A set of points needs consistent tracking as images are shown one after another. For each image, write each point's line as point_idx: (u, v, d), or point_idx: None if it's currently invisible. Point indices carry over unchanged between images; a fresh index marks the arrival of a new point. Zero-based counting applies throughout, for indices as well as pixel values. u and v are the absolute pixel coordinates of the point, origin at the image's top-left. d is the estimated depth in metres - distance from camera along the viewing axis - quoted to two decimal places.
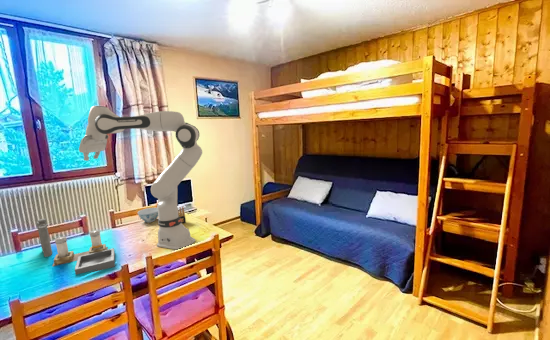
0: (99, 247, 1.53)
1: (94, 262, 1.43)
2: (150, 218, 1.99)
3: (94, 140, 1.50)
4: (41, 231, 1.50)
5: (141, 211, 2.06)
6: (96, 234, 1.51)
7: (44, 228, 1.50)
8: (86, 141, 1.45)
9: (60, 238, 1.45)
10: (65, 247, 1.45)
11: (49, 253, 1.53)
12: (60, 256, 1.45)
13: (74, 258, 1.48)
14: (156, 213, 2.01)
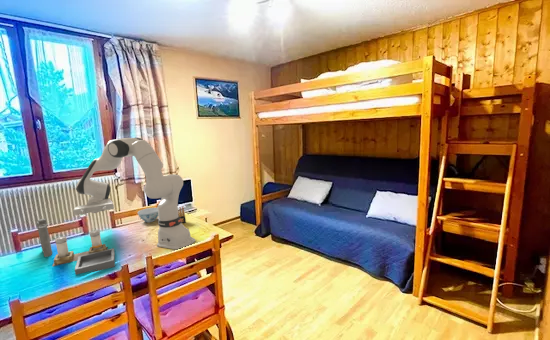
0: (99, 247, 1.53)
1: (94, 262, 1.43)
2: (150, 218, 1.99)
3: (87, 204, 1.69)
4: (41, 231, 1.50)
5: (141, 211, 2.06)
6: (96, 234, 1.51)
7: (44, 228, 1.50)
8: None
9: (60, 238, 1.45)
10: (65, 247, 1.45)
11: (49, 253, 1.53)
12: (60, 256, 1.44)
13: (74, 258, 1.48)
14: (156, 213, 2.01)
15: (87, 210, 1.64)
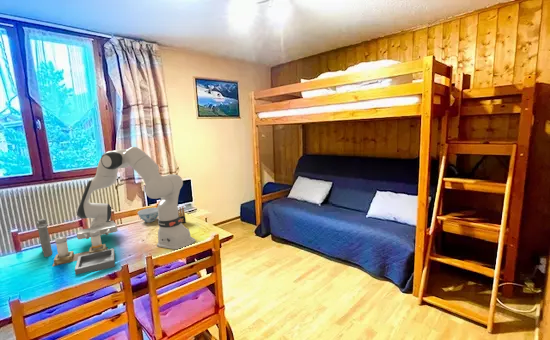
0: (99, 247, 1.53)
1: (94, 262, 1.43)
2: (150, 218, 1.99)
3: (91, 227, 1.68)
4: (41, 231, 1.50)
5: (141, 211, 2.06)
6: (96, 234, 1.51)
7: (44, 228, 1.50)
8: None
9: (60, 238, 1.45)
10: (65, 247, 1.45)
11: (49, 253, 1.53)
12: (60, 256, 1.45)
13: (74, 258, 1.48)
14: (156, 213, 2.01)
15: None
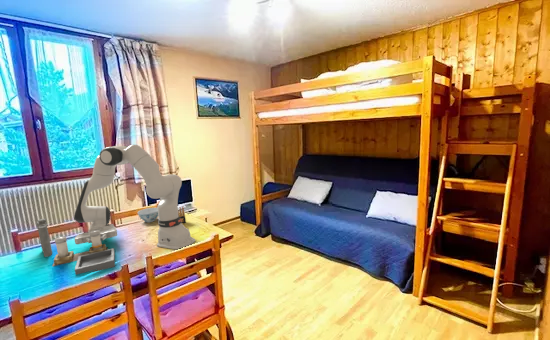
0: (99, 247, 1.53)
1: (94, 262, 1.43)
2: (150, 218, 1.99)
3: (89, 232, 1.60)
4: (41, 231, 1.50)
5: (141, 211, 2.06)
6: (96, 234, 1.51)
7: (44, 228, 1.50)
8: None
9: (60, 238, 1.45)
10: (65, 247, 1.45)
11: (49, 253, 1.53)
12: (60, 256, 1.45)
13: (74, 258, 1.48)
14: (156, 213, 2.01)
15: (89, 239, 1.55)
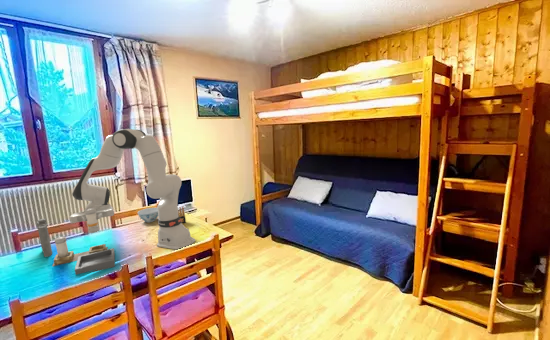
0: (95, 226, 1.47)
1: (94, 262, 1.43)
2: (150, 218, 1.99)
3: None
4: (41, 231, 1.50)
5: (141, 211, 2.06)
6: (92, 212, 1.45)
7: (44, 228, 1.50)
8: None
9: (59, 238, 1.45)
10: (65, 247, 1.45)
11: (49, 253, 1.53)
12: (60, 256, 1.44)
13: (74, 258, 1.48)
14: (156, 213, 2.01)
15: None
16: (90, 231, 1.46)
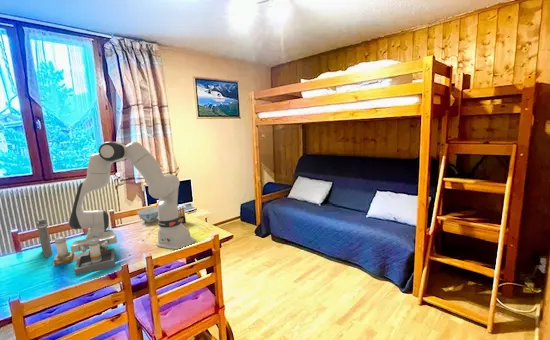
0: (98, 257, 1.41)
1: None
2: (150, 218, 1.99)
3: (87, 238, 1.48)
4: (41, 231, 1.50)
5: (141, 211, 2.06)
6: (95, 243, 1.39)
7: (44, 228, 1.50)
8: None
9: (59, 238, 1.45)
10: (64, 247, 1.45)
11: (49, 253, 1.53)
12: (60, 256, 1.45)
13: (74, 258, 1.48)
14: (156, 213, 2.01)
15: (86, 246, 1.43)
16: (93, 263, 1.40)
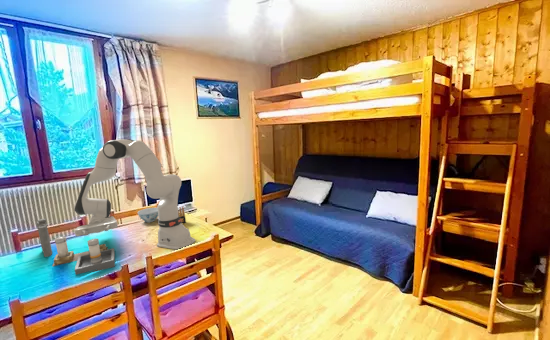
0: (98, 257, 1.41)
1: None
2: (150, 218, 1.99)
3: (89, 224, 1.59)
4: (41, 231, 1.50)
5: (141, 211, 2.06)
6: (94, 243, 1.39)
7: (44, 228, 1.50)
8: None
9: (60, 238, 1.45)
10: (64, 247, 1.45)
11: (49, 253, 1.53)
12: (60, 256, 1.45)
13: (74, 258, 1.48)
14: (156, 213, 2.01)
15: (89, 230, 1.54)
16: (93, 263, 1.40)
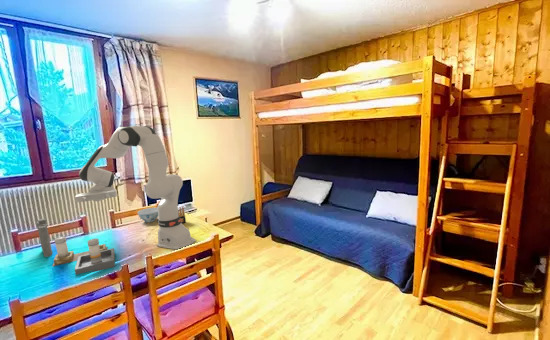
0: (98, 257, 1.41)
1: None
2: (150, 218, 1.99)
3: (89, 192, 1.63)
4: (41, 231, 1.50)
5: (141, 211, 2.06)
6: (94, 243, 1.39)
7: (44, 228, 1.50)
8: None
9: (59, 238, 1.45)
10: (64, 247, 1.45)
11: (49, 253, 1.53)
12: (59, 256, 1.44)
13: (74, 258, 1.48)
14: (156, 213, 2.01)
15: (89, 198, 1.58)
16: (93, 263, 1.40)
